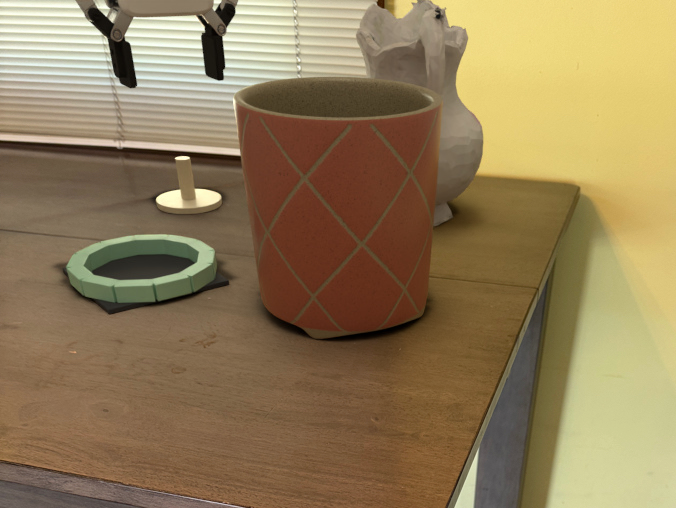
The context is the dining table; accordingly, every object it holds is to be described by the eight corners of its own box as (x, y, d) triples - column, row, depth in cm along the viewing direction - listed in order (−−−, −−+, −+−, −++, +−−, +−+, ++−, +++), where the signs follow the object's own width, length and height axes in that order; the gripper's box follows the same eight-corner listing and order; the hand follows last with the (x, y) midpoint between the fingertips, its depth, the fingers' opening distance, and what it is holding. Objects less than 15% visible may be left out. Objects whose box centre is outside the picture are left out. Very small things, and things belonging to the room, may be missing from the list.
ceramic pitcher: (508, 241, 101) (546, 17, 86) (376, 249, 94) (392, 5, 78) (433, 196, 116) (454, -2, 101) (314, 200, 108) (317, -14, 93)
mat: (109, 314, 79) (108, 309, 79) (63, 272, 87) (62, 268, 87) (229, 284, 85) (229, 280, 85) (176, 248, 94) (175, 244, 93)
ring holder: (173, 218, 102) (165, 170, 98) (146, 201, 107) (137, 155, 104) (233, 206, 106) (227, 160, 102) (204, 190, 112) (198, 146, 108)
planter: (466, 322, 79) (483, 107, 66) (300, 361, 72) (283, 127, 59) (380, 262, 92) (380, 71, 79) (230, 290, 84) (203, 84, 71)
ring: (104, 315, 78) (99, 298, 76) (52, 267, 87) (47, 251, 86) (240, 280, 85) (239, 265, 84) (179, 240, 94) (177, 225, 93)
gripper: (211, -130, 75) (230, 70, 86) (31, -141, 67) (78, 82, 78) (247, -130, 70) (262, 81, 82) (59, -141, 62) (105, 96, 73)
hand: (173, 82), depth 80 cm, fingers open, 9 cm apart
